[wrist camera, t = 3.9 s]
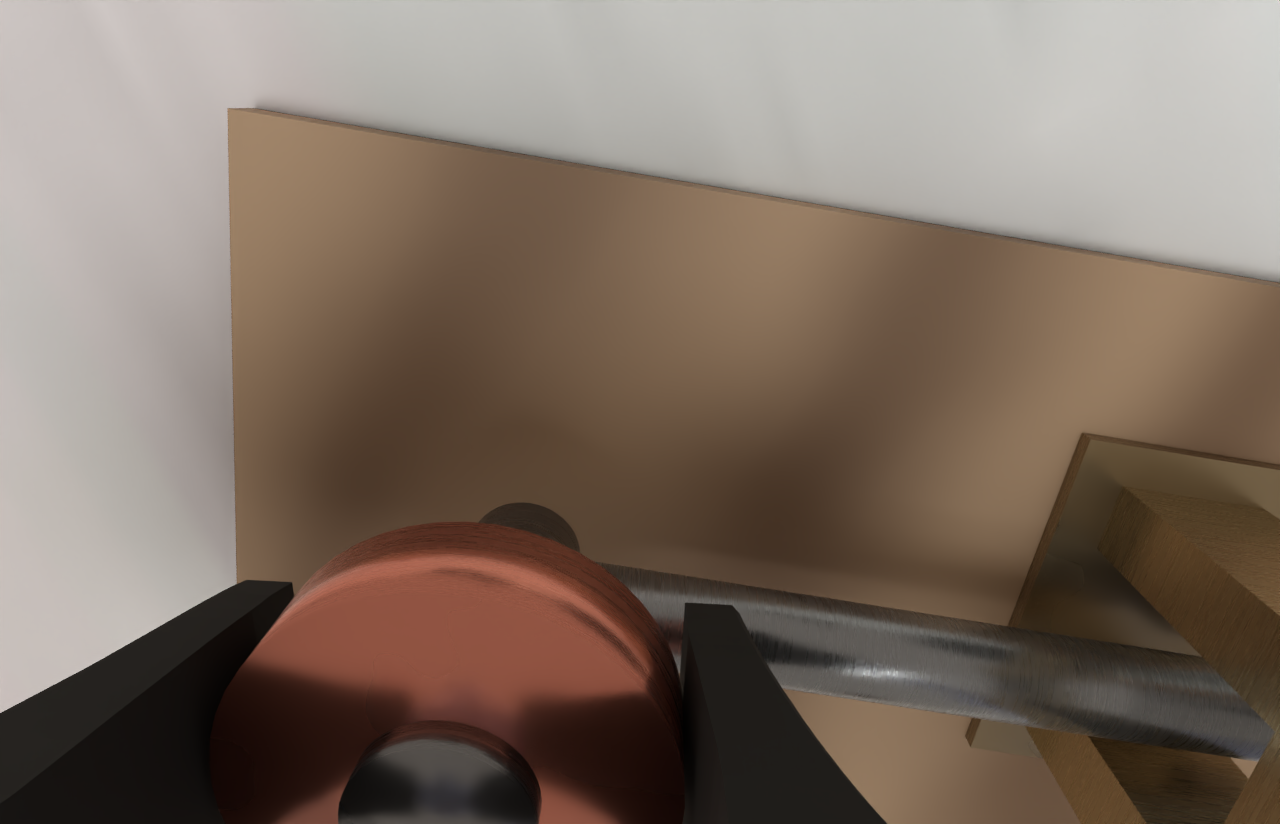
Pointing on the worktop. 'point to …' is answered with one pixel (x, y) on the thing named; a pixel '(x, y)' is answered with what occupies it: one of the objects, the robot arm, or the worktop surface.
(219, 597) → the robot arm
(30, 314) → the worktop surface
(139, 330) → the worktop surface
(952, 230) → the board
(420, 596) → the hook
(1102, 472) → the wooden holder
